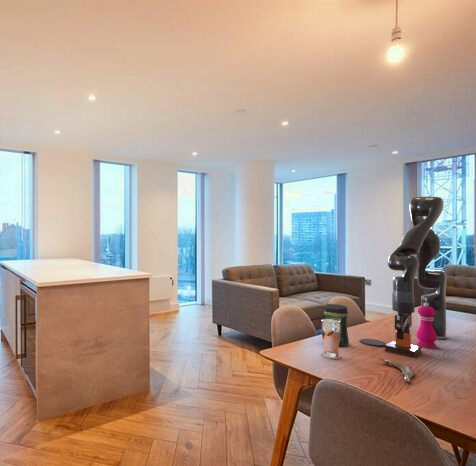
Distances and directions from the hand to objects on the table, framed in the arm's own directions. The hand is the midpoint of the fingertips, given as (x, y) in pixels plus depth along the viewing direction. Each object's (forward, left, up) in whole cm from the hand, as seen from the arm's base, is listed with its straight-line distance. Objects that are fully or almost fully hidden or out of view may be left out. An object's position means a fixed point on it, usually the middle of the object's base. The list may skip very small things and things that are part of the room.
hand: (403, 337), depth 147 cm
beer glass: (+32, -16, -6) cm, 36 cm away
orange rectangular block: (0, 0, -6) cm, 6 cm away
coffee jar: (+12, -22, -6) cm, 26 cm away
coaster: (-3, -12, -6) cm, 14 cm away
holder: (0, 0, -6) cm, 6 cm away
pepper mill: (-18, +4, -6) cm, 20 cm away
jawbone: (+31, +5, -6) cm, 32 cm away
